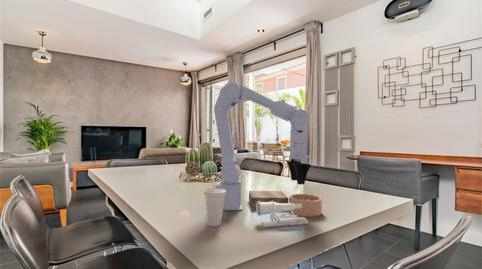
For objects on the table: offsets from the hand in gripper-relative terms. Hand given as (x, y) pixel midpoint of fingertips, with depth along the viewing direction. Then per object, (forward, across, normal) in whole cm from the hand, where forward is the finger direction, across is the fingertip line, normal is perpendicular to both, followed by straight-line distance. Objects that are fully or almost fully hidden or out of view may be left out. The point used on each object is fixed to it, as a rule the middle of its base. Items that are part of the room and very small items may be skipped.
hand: (297, 182), depth 86 cm
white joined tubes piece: (+10, -14, +8) cm, 19 cm away
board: (+10, +7, +9) cm, 15 cm away
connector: (+9, -2, -2) cm, 10 cm away
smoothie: (+10, -14, +28) cm, 33 cm away
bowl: (+10, -2, -2) cm, 10 cm away
